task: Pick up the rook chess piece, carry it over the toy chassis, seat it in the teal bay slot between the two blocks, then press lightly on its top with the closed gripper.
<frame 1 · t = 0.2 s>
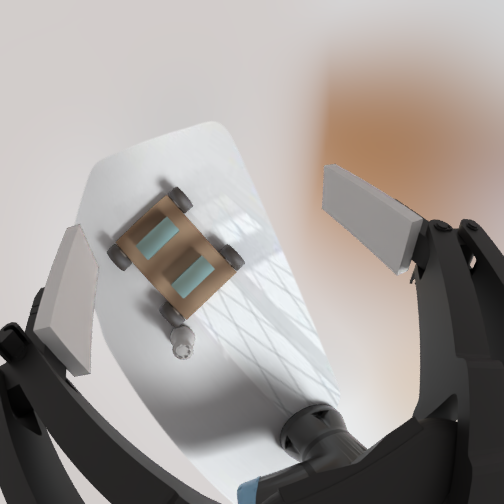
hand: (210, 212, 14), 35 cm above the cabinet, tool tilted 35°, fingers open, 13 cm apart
chassis: (175, 257, 47), on the cabinet
rook chess piece: (182, 336, 47), on the cabinet
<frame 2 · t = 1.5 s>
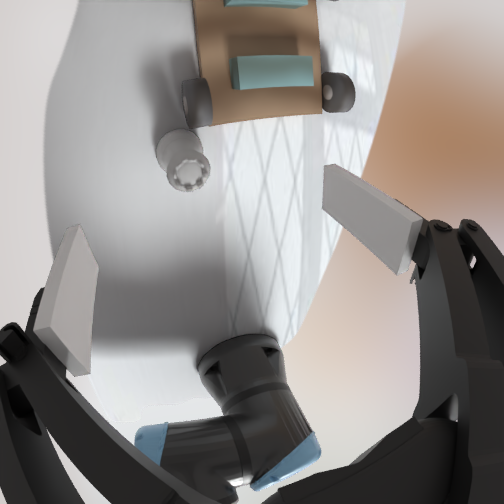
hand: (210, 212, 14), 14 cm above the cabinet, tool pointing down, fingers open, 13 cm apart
chassis: (258, 33, 20), on the cabinet
rook chess piece: (178, 150, 25), on the cabinet
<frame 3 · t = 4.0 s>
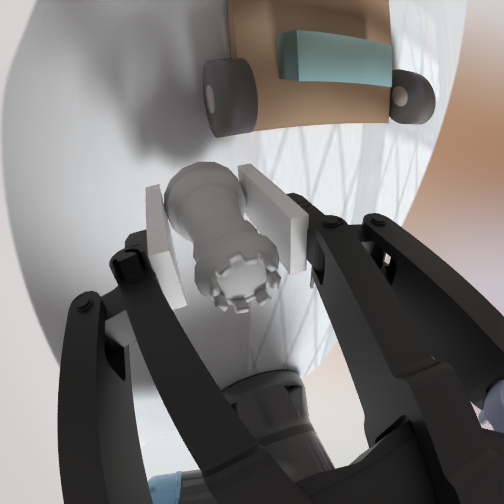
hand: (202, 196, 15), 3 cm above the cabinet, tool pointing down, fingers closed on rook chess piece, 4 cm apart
chassis: (314, 4, 12), on the cabinet
rook chess piece: (201, 195, 16), point 3 cm above the cabinet, touching gripper
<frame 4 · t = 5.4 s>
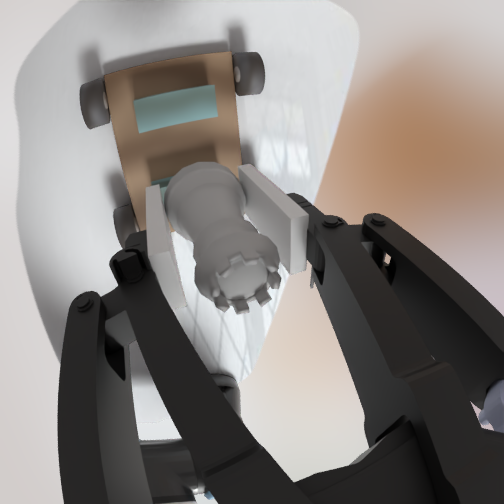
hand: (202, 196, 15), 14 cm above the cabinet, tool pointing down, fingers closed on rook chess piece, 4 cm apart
chassis: (179, 145, 26), on the cabinet
rook chess piece: (201, 195, 16), point 13 cm above the cabinet, touching gripper
when the fingers open (2 cm above the cabinet, at t = 7.0 s): rook chess piece stays where it is, resting on chassis.
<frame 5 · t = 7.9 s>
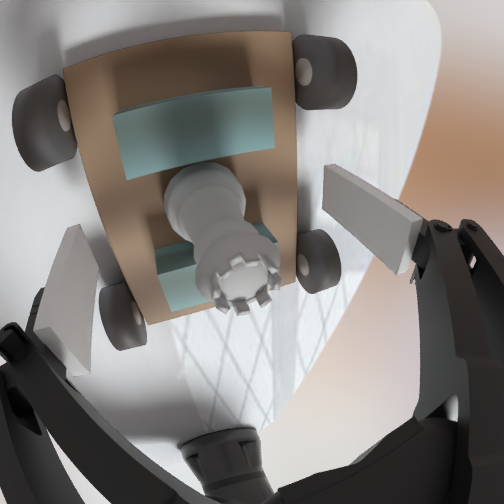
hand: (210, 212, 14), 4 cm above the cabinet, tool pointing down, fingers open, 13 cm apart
chassis: (198, 187, 16), on the cabinet
rook chess piece: (201, 195, 16), point 1 cm above the cabinet, touching chassis
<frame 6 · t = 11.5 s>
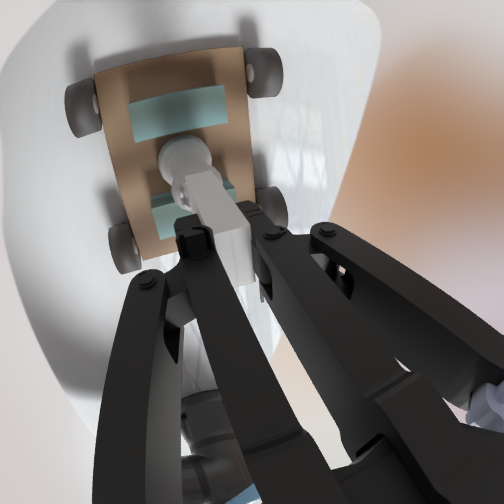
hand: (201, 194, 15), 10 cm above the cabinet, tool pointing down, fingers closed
chassis: (182, 154, 23), on the cabinet
rook chess piece: (183, 158, 22), point 1 cm above the cabinet, touching chassis
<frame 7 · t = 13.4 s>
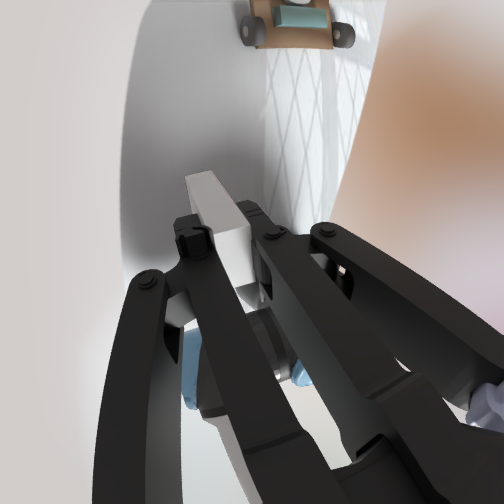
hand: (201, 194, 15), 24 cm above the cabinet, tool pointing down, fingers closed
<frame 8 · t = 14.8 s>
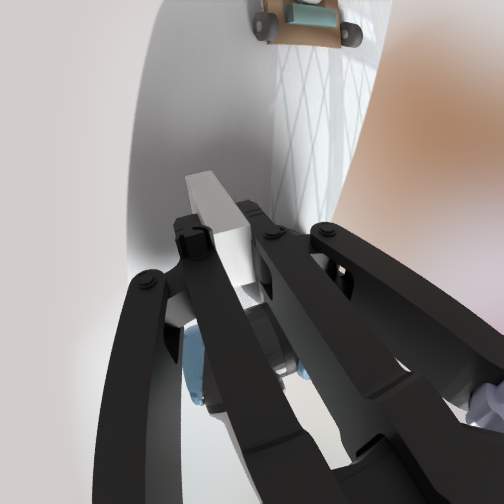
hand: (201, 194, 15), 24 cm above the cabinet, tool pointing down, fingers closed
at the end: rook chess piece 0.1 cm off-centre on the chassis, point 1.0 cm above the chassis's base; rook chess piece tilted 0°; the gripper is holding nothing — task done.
